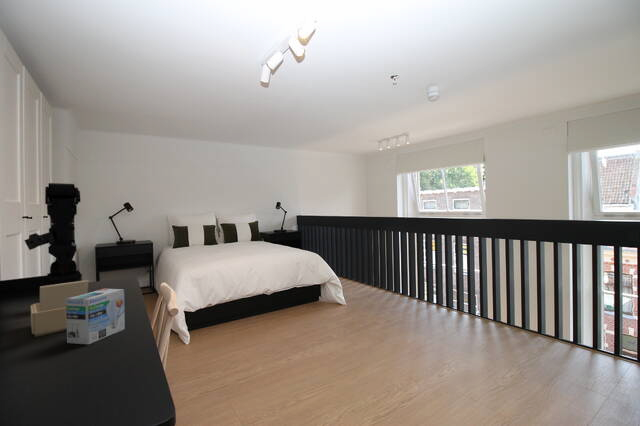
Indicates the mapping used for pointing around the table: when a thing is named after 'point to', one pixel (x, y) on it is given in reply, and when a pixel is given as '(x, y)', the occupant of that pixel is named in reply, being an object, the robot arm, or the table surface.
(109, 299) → the light bulb box
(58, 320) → the carton
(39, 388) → the table surface
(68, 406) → the table surface
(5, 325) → the table surface
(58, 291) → the far flap
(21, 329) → the table surface
